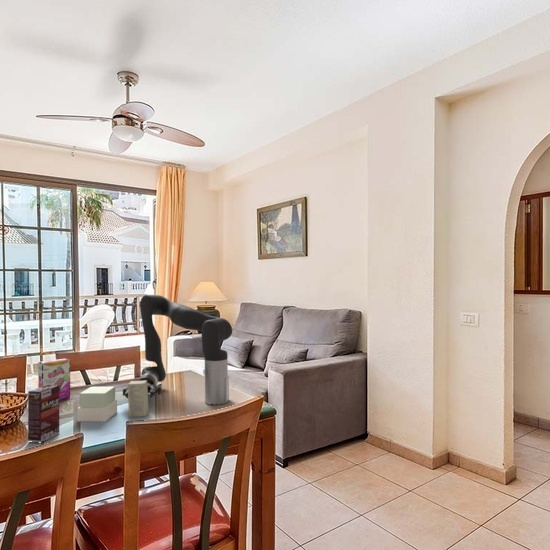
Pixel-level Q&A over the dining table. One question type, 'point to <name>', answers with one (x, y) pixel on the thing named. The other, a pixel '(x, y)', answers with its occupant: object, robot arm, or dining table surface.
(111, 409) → the tower base block
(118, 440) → the dining table surface
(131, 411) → the skincare box
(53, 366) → the candy bar box
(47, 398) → the supplement box
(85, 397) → the tower top block
